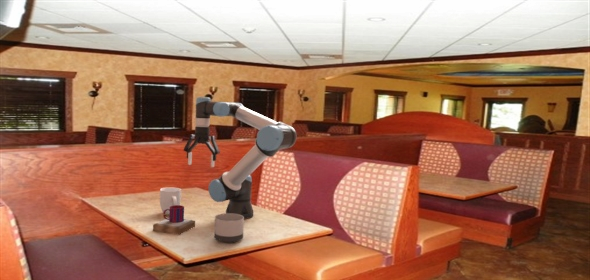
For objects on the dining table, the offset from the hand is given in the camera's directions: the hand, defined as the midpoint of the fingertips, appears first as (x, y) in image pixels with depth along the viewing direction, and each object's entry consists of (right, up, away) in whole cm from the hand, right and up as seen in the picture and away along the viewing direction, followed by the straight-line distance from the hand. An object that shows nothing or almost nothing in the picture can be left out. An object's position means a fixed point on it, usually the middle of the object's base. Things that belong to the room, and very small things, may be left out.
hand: (201, 165), depth 228 cm
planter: (+21, -31, -37) cm, 53 cm away
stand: (-7, -29, -25) cm, 39 cm away
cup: (-8, -25, -25) cm, 36 cm away
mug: (-17, -26, +1) cm, 31 cm away
